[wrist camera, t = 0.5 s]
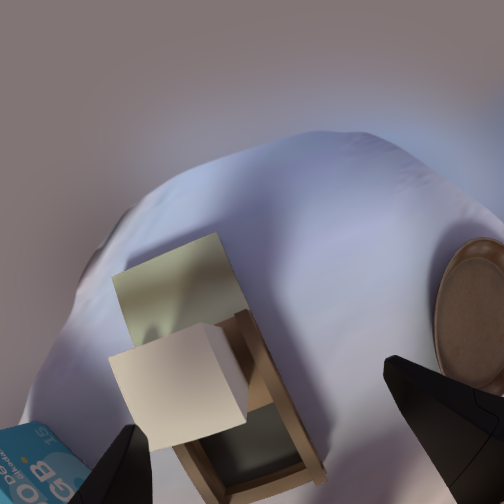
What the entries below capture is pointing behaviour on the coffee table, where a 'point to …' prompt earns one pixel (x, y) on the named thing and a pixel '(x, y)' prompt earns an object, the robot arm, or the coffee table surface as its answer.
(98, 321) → the coffee table surface
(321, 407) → the coffee table surface
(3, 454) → the data package
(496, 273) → the plant saucer
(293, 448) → the walnut channel
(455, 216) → the coffee table surface
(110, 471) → the robot arm
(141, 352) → the cream block
